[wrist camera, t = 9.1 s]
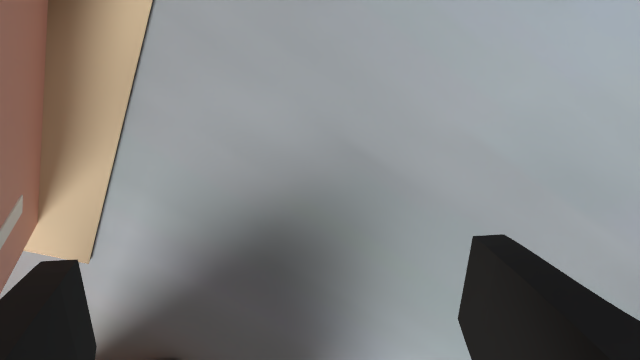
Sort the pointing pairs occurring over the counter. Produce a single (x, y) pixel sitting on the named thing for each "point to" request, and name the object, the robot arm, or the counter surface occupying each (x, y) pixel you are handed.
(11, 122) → the pink block
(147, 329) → the counter surface
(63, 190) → the cork mat
